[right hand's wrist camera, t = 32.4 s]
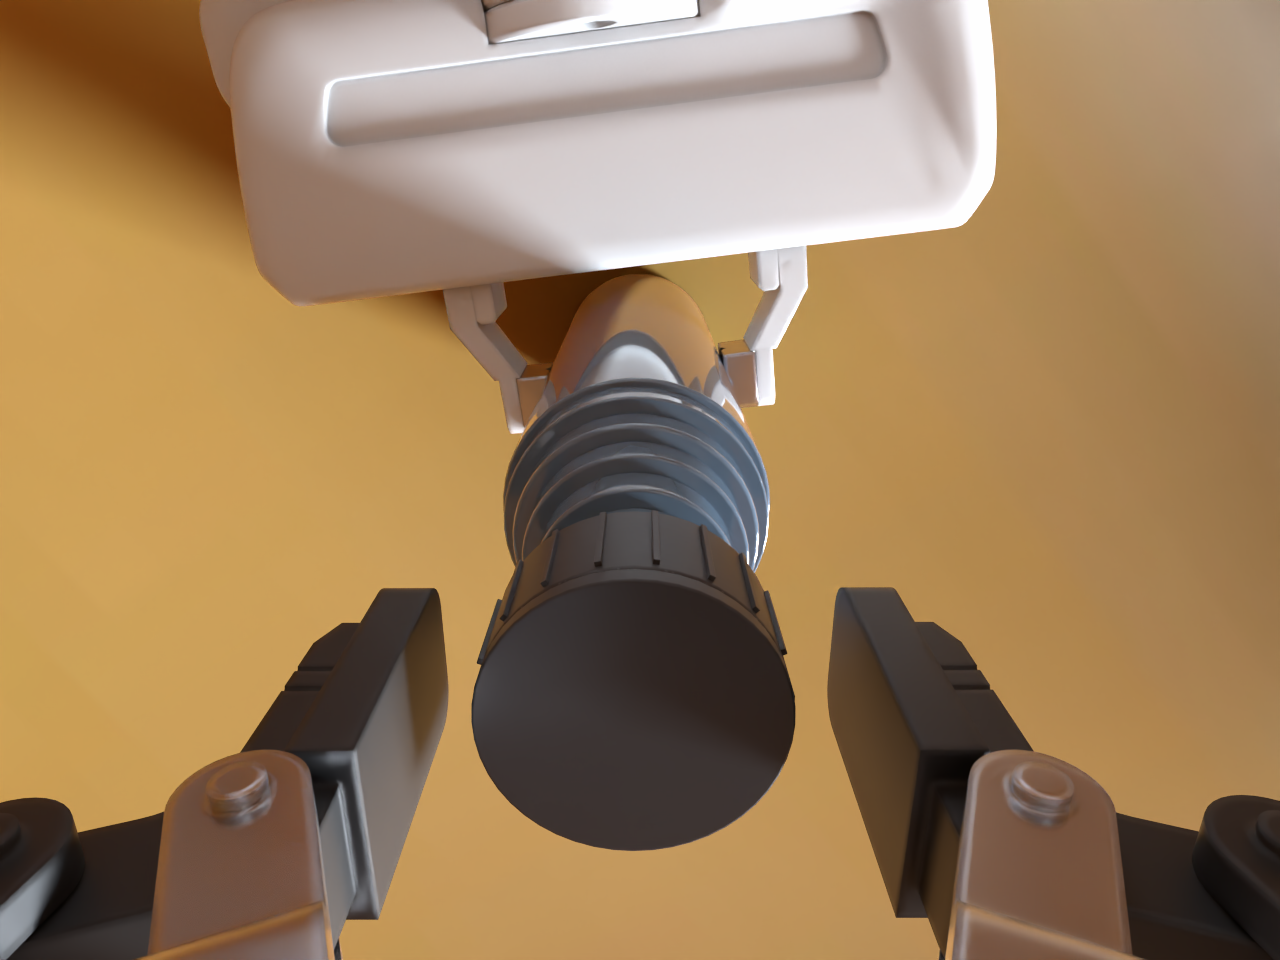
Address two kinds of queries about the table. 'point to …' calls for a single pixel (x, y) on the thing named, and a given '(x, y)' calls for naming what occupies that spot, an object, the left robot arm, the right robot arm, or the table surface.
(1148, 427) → the table surface
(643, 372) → the bottle
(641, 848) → the cap
